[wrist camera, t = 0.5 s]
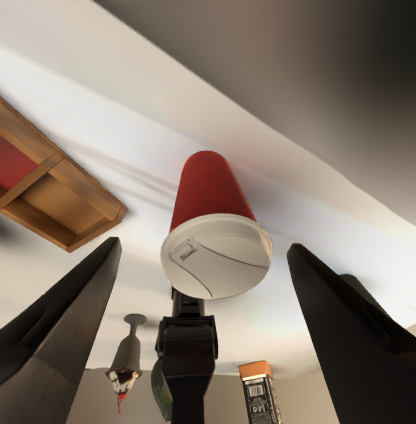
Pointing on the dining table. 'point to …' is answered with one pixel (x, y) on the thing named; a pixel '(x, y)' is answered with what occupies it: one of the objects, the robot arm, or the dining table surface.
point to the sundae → (127, 359)
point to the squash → (161, 391)
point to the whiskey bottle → (260, 393)
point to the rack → (50, 187)
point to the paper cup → (213, 233)
